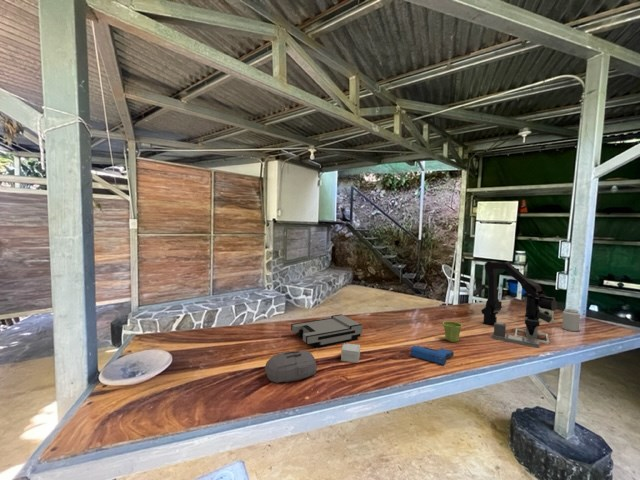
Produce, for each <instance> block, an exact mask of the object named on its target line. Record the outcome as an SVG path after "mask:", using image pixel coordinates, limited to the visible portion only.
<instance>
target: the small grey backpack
mask: <svg viewBox="0 0 640 480" xmlns="http://www.w3.org/2000/svg"><path fill="white" fill-rule="evenodd" d="M316 362H317V361H316V359H315V357H314V355H313V354H312V353H311V352H310V351H307V350H293V351H289V350H287V351H285V352H280V353H277V354H275V355H272V356H271V357H270V358H269V359H268V360H267V361H266V363H265V366H264V371H265V373H266V378H267V379H268V380H269V381H270V382H273V383H276V384H277V383H290V382H296V381H300V380H304V379H306V378H309V377H312V376H314V375H316V373H317V369H318V368H317V367H318V365H317V363H316Z"/></svg>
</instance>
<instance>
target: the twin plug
mask: <svg viewBox="0 0 640 480" xmlns="http://www.w3.org/2000/svg"><path fill="white" fill-rule="evenodd" d="M506 327H507V325H506V323H504V322H499V321H497V322H495V324H494V325H493V333H494V335H496V336H501V337H505V334H506V332H507V331H506V330H507V329H506Z"/></svg>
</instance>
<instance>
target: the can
mask: <svg viewBox="0 0 640 480" xmlns="http://www.w3.org/2000/svg"><path fill="white" fill-rule="evenodd" d="M580 316H581V315H580V313H579V310H575V309H571V308H564V310H563V311H562V323H561V326H562V328H563V330H565V331H569V332H576V333H577V332H579V331H580Z"/></svg>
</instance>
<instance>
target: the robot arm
mask: <svg viewBox="0 0 640 480" xmlns="http://www.w3.org/2000/svg"><path fill="white" fill-rule="evenodd" d="M502 269H503V270H504V271H506V272H507V273H508V274H509V275H510V276H511V277H512V278H513V279H514V280H515V281H517V282H518V283H519V285H520V286H521V288H522V289H523V291H524V292H525V293H524V294H522V295H521V296H522V297H523V298H525V299H526V300H525V313H524V325H525V327H526V326H527V329H528V331H529V333H530V335H532V336H533V333H534V330H535V327H537V328H538V327H540V324H541V323H540V322H541V321H539V320H538V319H539V318H540V319H542V320H544V321H546V322H545V323H548V324H551V322H550V321H551V319H552V316H551V315H549V312H547V311H545V312H541V311H540V310H539V307H540V308H543V309H547V310H552V311H554V312H555V311H556V310H557V308H558V302H557V301H556V297H554V296H553V297H549V296H547V295H546V293H545V292H544V291H543V289H542V286H541V284H539V283H537V282H536V281H534V280H531V279H529V278H527V276H526V275H524V274H523V273H522V272H521V271H519V270H518V269H517V268H516V266H514V265H513V264H512V263H511V262H509V261H508V262H504V261H503V262H498V261H496V260H495V261H494V260H493V261H492V260H491V261H486V262H485V263H484V271H485V273H486V274H487V288H488V289H487V291H488V294H487V295H488V296H487V300H486V303H485V307H484V308H482V309H481V310H480V311H481V314H483V321H482V324H483V325H488V326H494V324H495V322H498V321H497V319H498V316H497V315H498V314H499V312H501V310H502V309H503V307H502V306H503V305H502V301H500V300H499V299H498V275H499V273H500V270H502Z"/></svg>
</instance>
